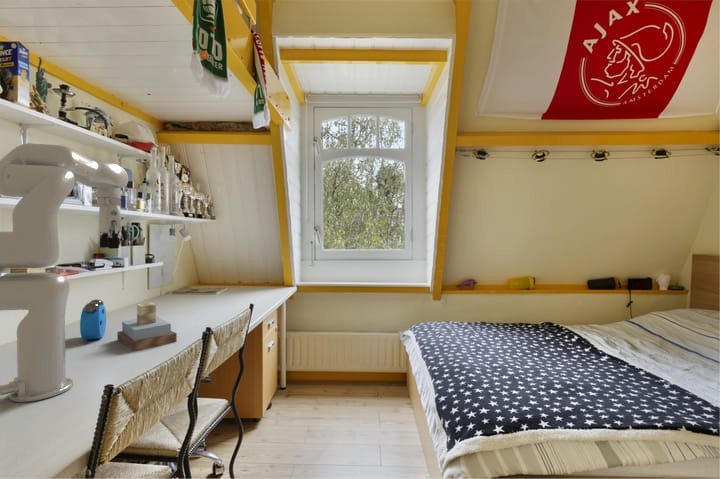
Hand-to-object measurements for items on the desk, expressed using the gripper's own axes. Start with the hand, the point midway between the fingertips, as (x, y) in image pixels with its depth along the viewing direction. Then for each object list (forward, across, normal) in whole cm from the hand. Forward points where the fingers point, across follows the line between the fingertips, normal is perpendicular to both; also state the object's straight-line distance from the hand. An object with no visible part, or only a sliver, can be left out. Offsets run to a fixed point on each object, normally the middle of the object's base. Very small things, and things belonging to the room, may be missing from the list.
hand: (109, 247), depth 136 cm
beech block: (+29, -10, -9) cm, 32 cm away
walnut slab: (+37, -10, -9) cm, 39 cm away
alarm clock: (+36, +9, +3) cm, 37 cm away
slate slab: (+33, -10, -9) cm, 36 cm away
